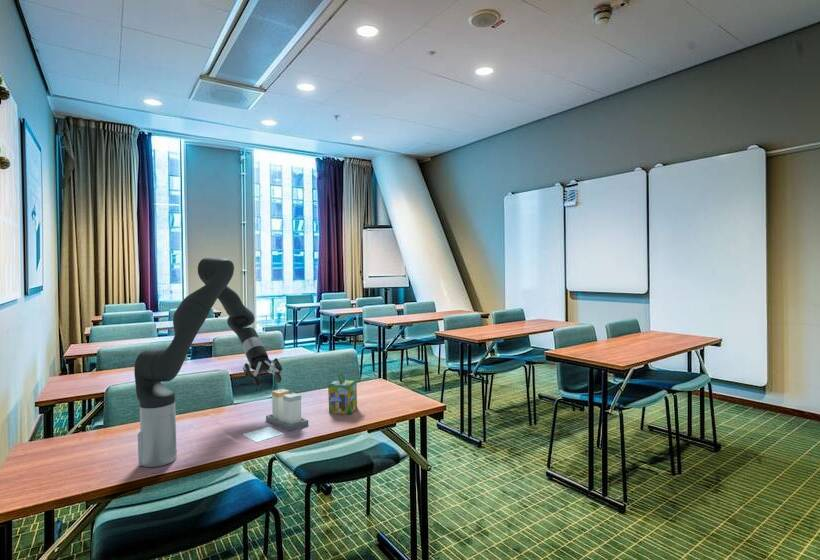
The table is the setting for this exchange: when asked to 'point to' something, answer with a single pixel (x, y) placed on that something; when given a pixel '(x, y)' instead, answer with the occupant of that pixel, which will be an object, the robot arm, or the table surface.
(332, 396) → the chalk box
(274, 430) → the blue-grey pad
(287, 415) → the grey-band box
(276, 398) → the orange-band box
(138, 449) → the robot arm
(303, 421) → the charcoal tray
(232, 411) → the table surface
